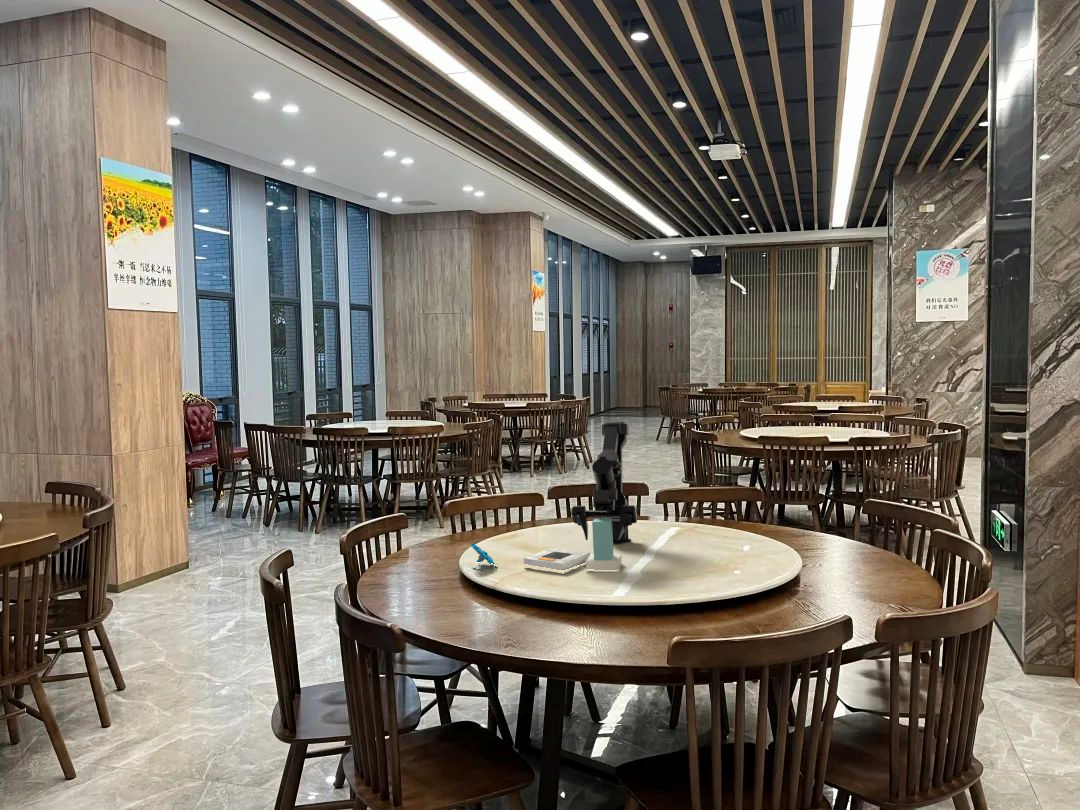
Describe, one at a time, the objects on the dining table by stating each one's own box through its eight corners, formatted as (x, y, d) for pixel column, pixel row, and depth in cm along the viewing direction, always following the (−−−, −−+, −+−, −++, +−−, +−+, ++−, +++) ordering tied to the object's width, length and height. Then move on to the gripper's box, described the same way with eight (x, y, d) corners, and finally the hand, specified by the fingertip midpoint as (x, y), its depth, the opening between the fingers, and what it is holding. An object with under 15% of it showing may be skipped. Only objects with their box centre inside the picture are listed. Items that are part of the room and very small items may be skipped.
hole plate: (552, 557, 270) (551, 547, 270) (590, 562, 261) (590, 551, 261) (524, 568, 259) (523, 557, 258) (563, 574, 250) (562, 562, 250)
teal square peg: (596, 555, 257) (594, 518, 256) (613, 555, 256) (611, 518, 255) (593, 559, 252) (592, 521, 251) (611, 560, 251) (609, 521, 250)
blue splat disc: (499, 565, 257) (473, 542, 257) (485, 581, 256) (459, 558, 256) (499, 561, 268) (474, 539, 268) (486, 576, 267) (461, 554, 267)
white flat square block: (591, 563, 260) (590, 553, 260) (621, 563, 258) (621, 553, 258) (586, 572, 251) (585, 561, 251) (618, 572, 249) (617, 561, 249)
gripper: (570, 478, 258) (565, 524, 248) (634, 477, 254) (632, 523, 245) (576, 500, 267) (571, 545, 257) (638, 499, 263) (636, 545, 253)
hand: (602, 539), depth 252 cm, fingers open, 9 cm apart
